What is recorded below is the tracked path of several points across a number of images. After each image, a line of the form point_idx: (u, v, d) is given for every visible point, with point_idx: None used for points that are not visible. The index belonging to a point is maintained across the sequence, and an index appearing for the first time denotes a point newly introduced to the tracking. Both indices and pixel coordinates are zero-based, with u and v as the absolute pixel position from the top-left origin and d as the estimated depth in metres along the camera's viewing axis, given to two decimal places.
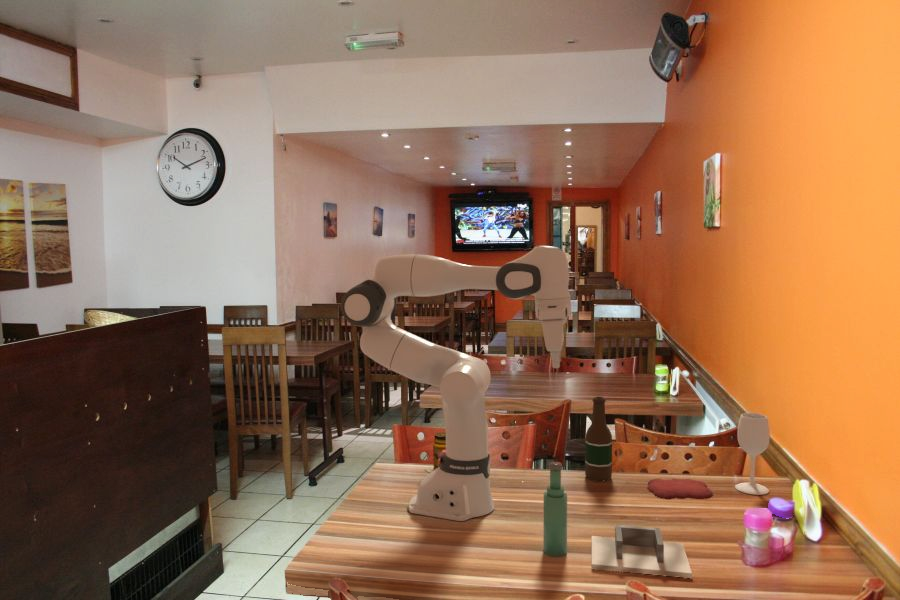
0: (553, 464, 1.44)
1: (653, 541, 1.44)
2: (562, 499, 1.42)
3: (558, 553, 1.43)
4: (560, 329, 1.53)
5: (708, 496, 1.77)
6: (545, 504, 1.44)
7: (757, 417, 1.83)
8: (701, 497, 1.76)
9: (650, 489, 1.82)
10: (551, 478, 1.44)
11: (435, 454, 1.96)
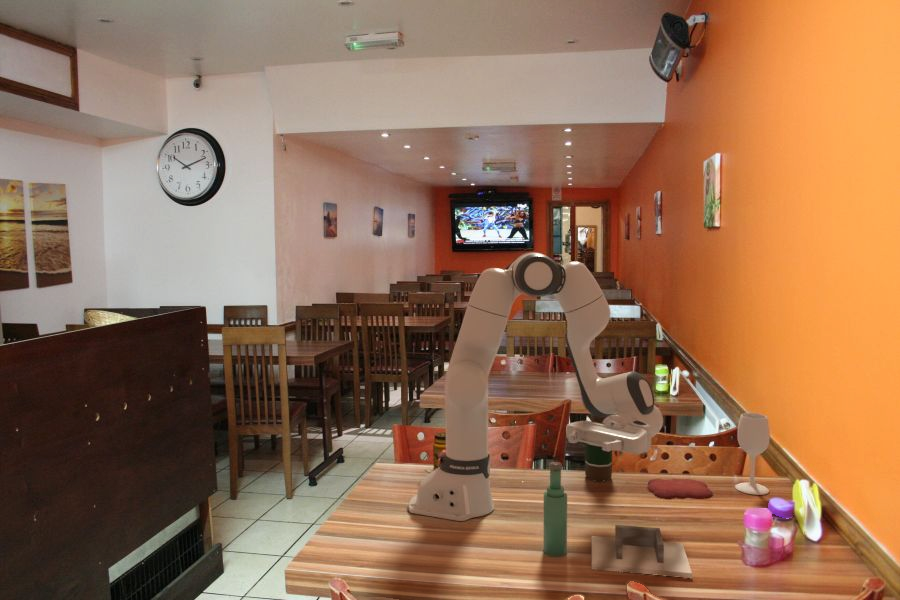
0: (553, 464, 1.44)
1: (653, 541, 1.44)
2: (562, 499, 1.42)
3: (558, 553, 1.43)
4: (645, 450, 1.52)
5: (708, 496, 1.77)
6: (545, 504, 1.44)
7: (757, 417, 1.83)
8: (701, 497, 1.76)
9: (650, 489, 1.82)
10: (551, 478, 1.44)
11: (435, 454, 1.96)
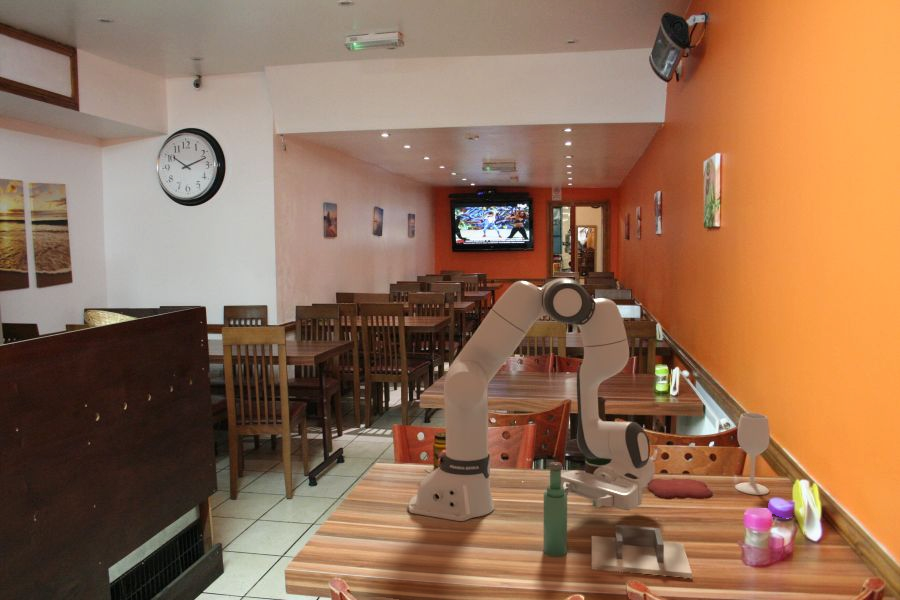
0: (553, 464, 1.44)
1: (653, 541, 1.44)
2: (562, 499, 1.42)
3: (558, 553, 1.43)
4: (636, 505, 1.51)
5: (708, 496, 1.77)
6: (545, 504, 1.44)
7: (757, 417, 1.83)
8: (701, 497, 1.76)
9: (650, 489, 1.82)
10: (551, 478, 1.44)
11: (435, 454, 1.96)
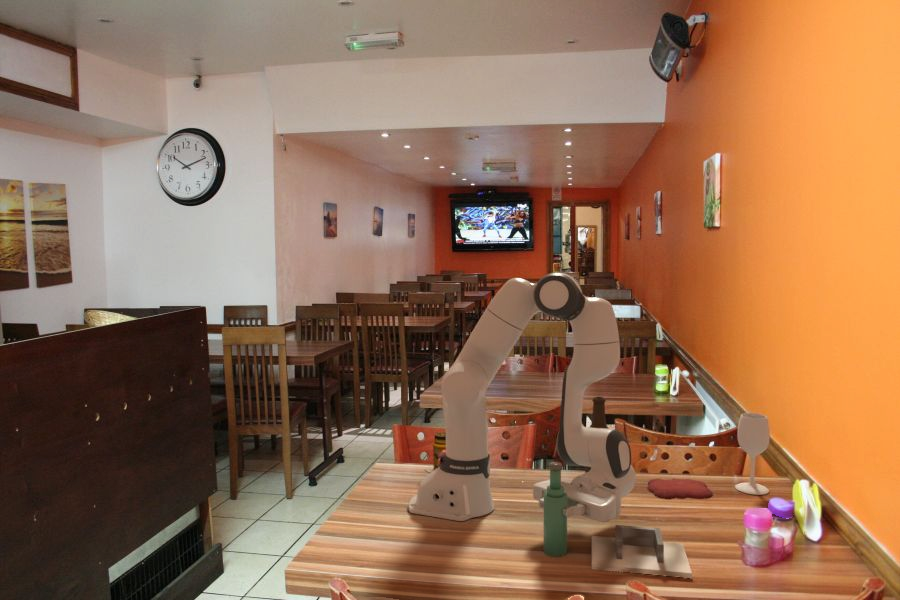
0: (553, 464, 1.44)
1: (653, 541, 1.44)
2: (562, 499, 1.42)
3: (558, 553, 1.43)
4: (614, 516, 1.44)
5: (708, 496, 1.77)
6: (545, 504, 1.44)
7: (757, 417, 1.83)
8: (701, 497, 1.76)
9: (650, 489, 1.82)
10: (551, 478, 1.44)
11: (435, 454, 1.96)
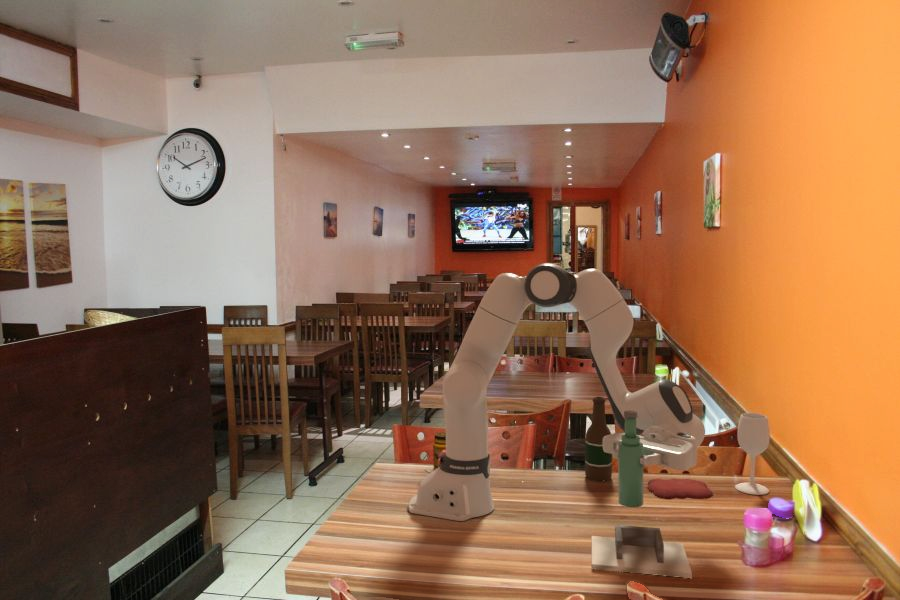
0: (628, 412, 1.40)
1: (653, 541, 1.44)
2: (639, 448, 1.38)
3: (635, 504, 1.39)
4: (692, 465, 1.40)
5: (708, 496, 1.77)
6: (621, 454, 1.40)
7: (757, 417, 1.83)
8: (701, 497, 1.76)
9: (650, 489, 1.82)
10: (626, 427, 1.40)
11: (435, 454, 1.96)
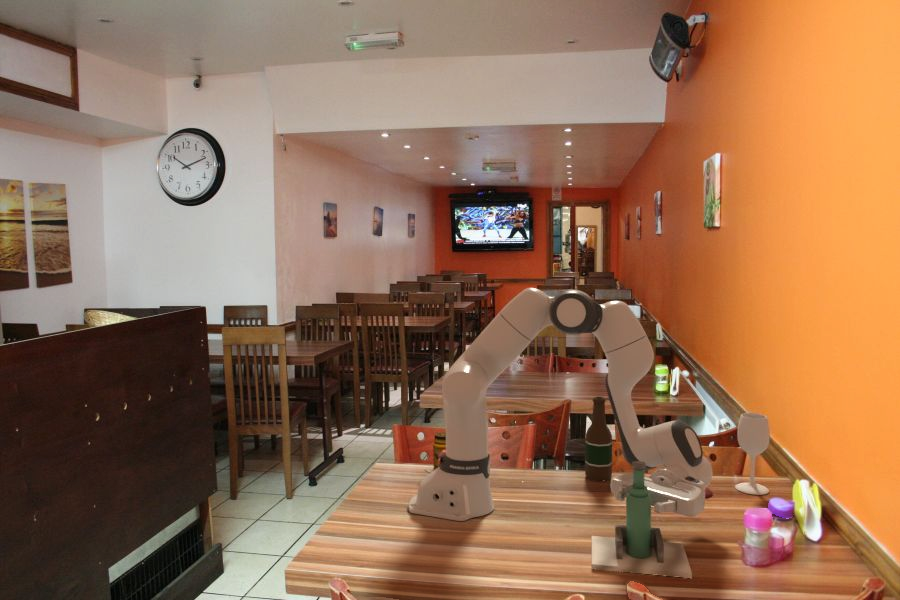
0: (636, 463, 1.40)
1: (653, 541, 1.44)
2: (647, 499, 1.39)
3: (643, 555, 1.39)
4: (700, 511, 1.40)
5: (708, 496, 1.77)
6: (629, 504, 1.40)
7: (757, 417, 1.83)
8: None
9: None
10: (634, 477, 1.40)
11: (435, 454, 1.96)
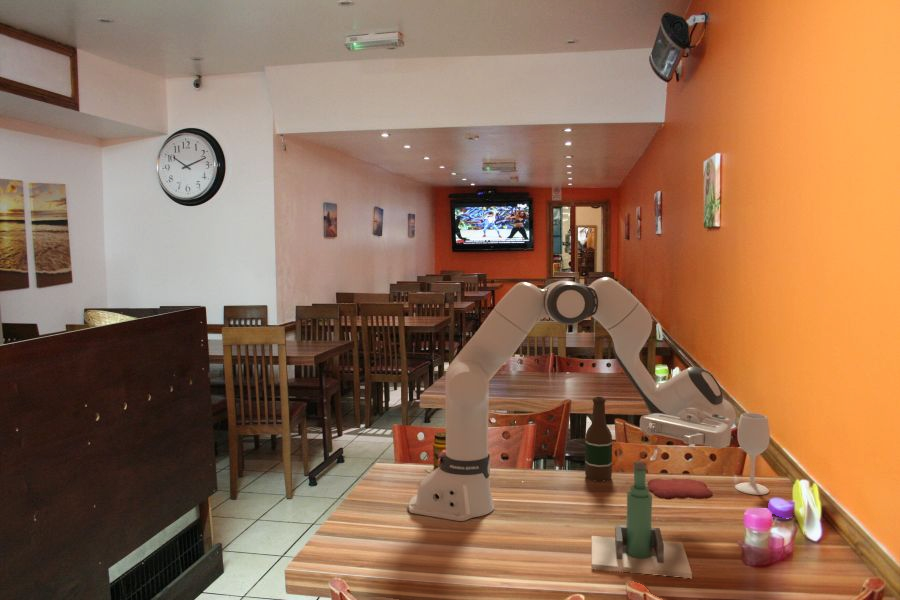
0: (638, 463, 1.40)
1: (653, 541, 1.44)
2: (648, 499, 1.39)
3: (643, 555, 1.39)
4: (727, 444, 1.48)
5: (708, 496, 1.77)
6: (629, 504, 1.40)
7: (757, 417, 1.83)
8: (701, 497, 1.76)
9: (650, 489, 1.82)
10: (636, 478, 1.40)
11: (435, 454, 1.96)
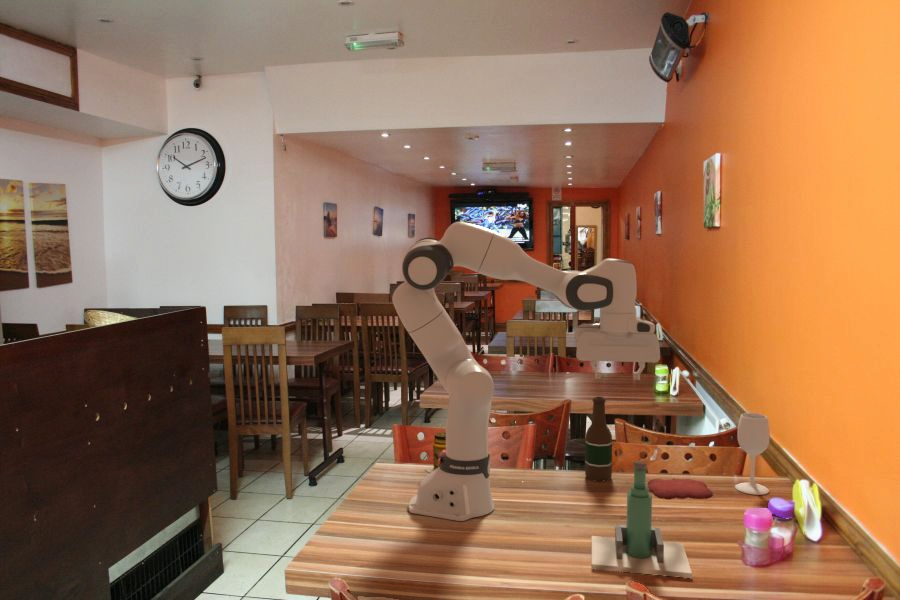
0: (638, 463, 1.40)
1: (653, 541, 1.44)
2: (648, 499, 1.39)
3: (643, 555, 1.39)
4: None
5: (708, 496, 1.77)
6: (629, 504, 1.40)
7: (757, 417, 1.83)
8: (701, 497, 1.76)
9: (650, 489, 1.82)
10: (636, 478, 1.40)
11: (435, 454, 1.96)
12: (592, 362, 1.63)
